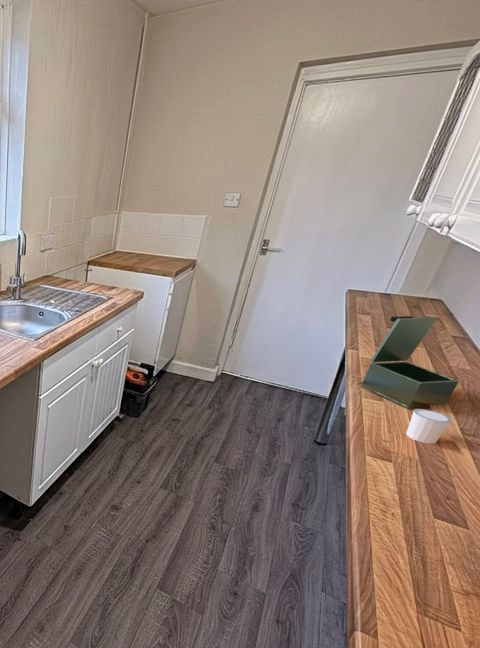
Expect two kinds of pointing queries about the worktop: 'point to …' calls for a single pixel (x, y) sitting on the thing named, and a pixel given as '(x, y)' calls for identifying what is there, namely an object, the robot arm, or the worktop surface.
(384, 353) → the box lid
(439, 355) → the worktop surface
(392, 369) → the green box
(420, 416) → the white ramekin
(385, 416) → the worktop surface
